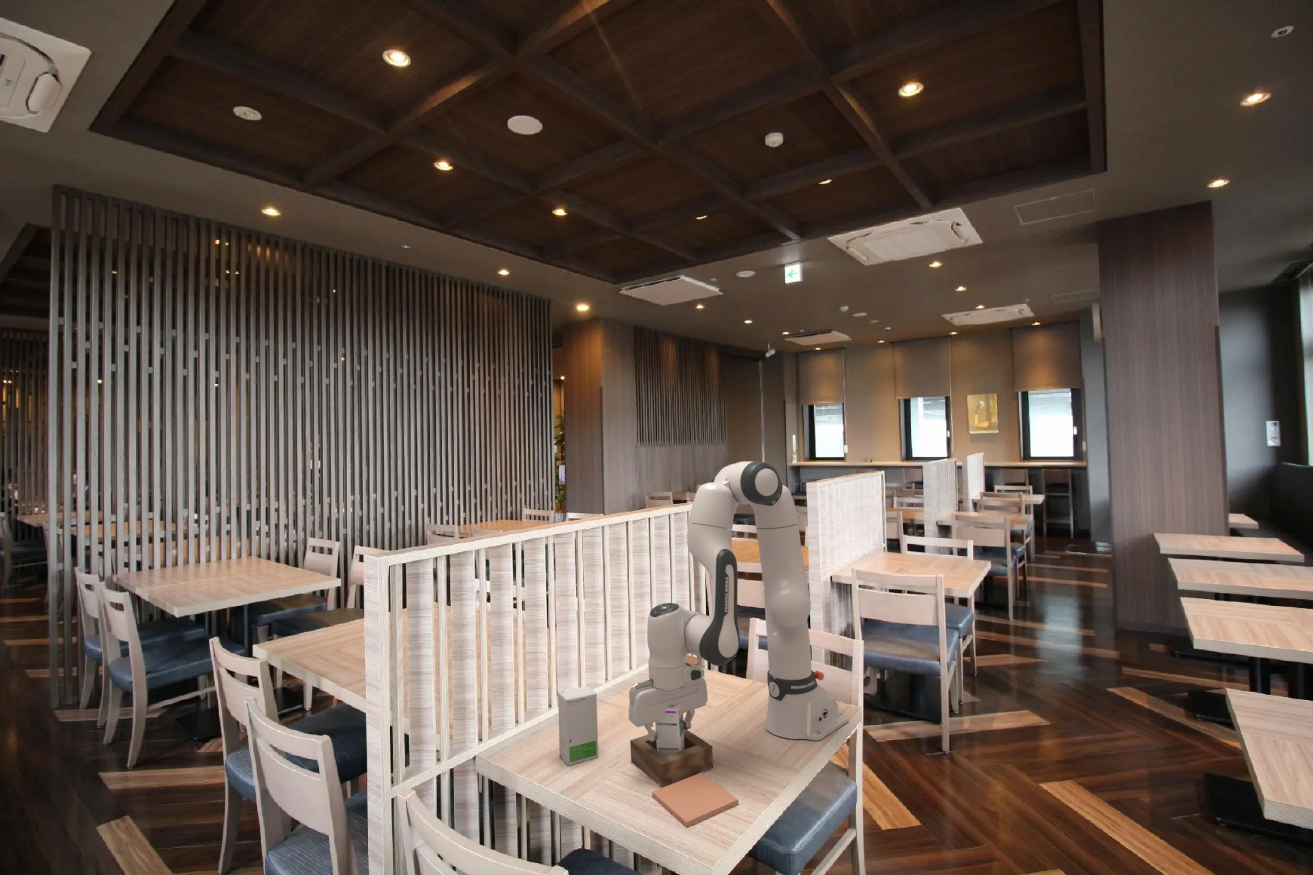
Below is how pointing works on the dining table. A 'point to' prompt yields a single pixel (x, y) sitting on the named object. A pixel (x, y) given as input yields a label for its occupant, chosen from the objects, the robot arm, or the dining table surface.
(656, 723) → the syrup box
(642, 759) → the holder sleeve
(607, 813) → the dining table surface
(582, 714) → the skincare box
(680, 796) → the terracotta tile
